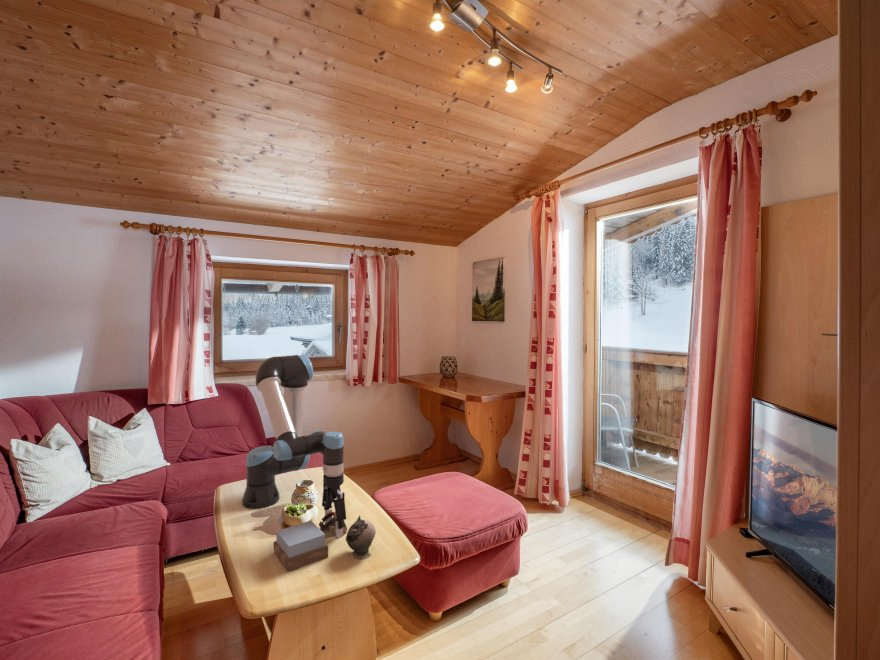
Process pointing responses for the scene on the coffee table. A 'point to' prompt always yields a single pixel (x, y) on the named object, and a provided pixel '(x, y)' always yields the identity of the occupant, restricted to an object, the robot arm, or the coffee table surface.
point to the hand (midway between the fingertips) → (333, 531)
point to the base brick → (300, 557)
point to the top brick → (300, 539)
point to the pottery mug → (330, 523)
